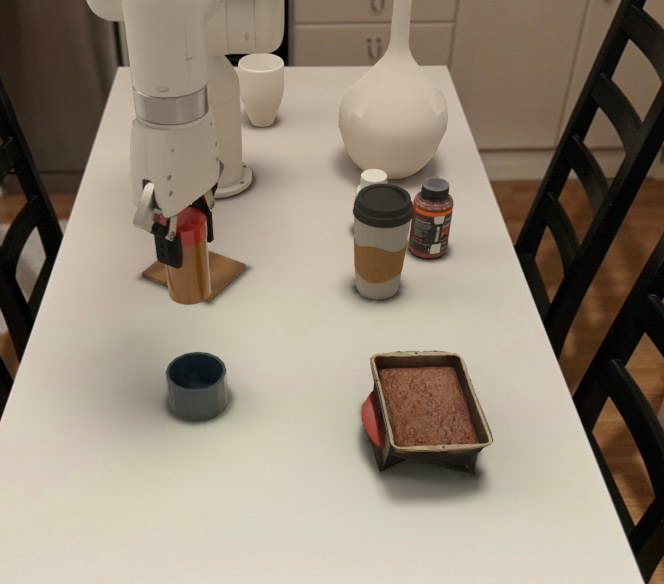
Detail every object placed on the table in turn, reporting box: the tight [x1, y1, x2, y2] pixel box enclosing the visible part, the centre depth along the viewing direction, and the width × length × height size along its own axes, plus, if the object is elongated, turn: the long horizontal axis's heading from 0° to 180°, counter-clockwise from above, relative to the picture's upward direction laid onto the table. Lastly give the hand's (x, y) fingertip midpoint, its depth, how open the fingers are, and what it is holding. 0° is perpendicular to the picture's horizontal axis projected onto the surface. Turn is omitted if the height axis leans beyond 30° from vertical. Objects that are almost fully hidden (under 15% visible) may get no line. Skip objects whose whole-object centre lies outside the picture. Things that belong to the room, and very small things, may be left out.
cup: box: [165, 351, 229, 422], centre depth 115 cm, size 7×7×5 cm
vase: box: [338, 0, 449, 180], centre depth 150 cm, size 18×18×30 cm
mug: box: [237, 53, 285, 128], centre depth 170 cm, size 12×8×11 cm
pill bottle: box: [354, 169, 388, 200], centre depth 142 cm, size 5×5×10 cm
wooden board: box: [141, 250, 247, 303], centre depth 137 cm, size 12×10×1 cm
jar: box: [160, 207, 211, 306], centre depth 105 cm, size 5×5×10 cm
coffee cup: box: [352, 183, 413, 300], centre depth 129 cm, size 8×8×15 cm
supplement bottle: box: [408, 177, 455, 259], centre depth 137 cm, size 6×6×11 cm
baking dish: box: [361, 350, 494, 475], centre depth 109 cm, size 14×18×10 cm
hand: (185, 249), depth 104 cm, fingers closed on jar, 5 cm apart
